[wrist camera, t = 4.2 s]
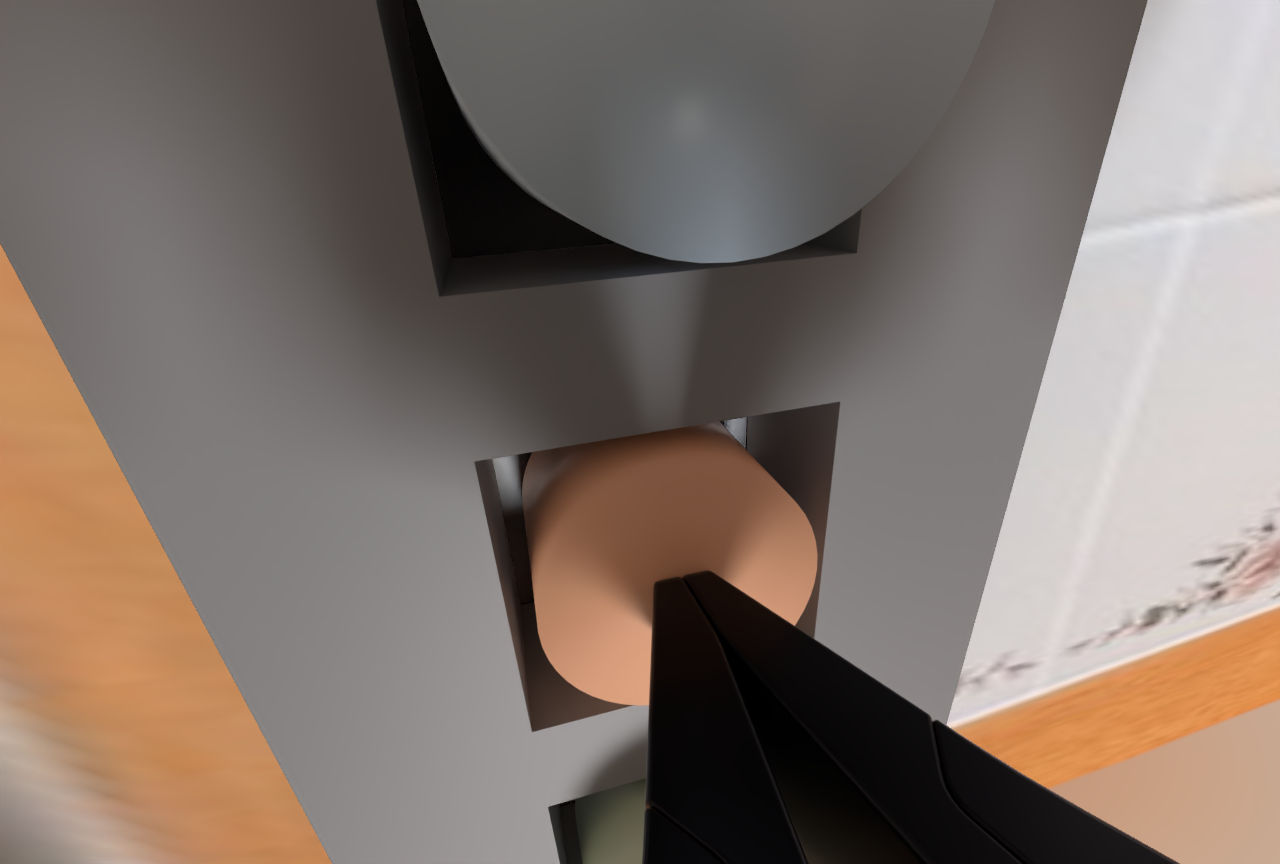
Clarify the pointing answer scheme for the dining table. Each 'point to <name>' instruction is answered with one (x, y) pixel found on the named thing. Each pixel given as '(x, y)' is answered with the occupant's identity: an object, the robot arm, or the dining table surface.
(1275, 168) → the dining table surface
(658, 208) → the button blue
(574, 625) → the button terracotta
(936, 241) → the button panel
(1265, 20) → the dining table surface
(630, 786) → the button sage
